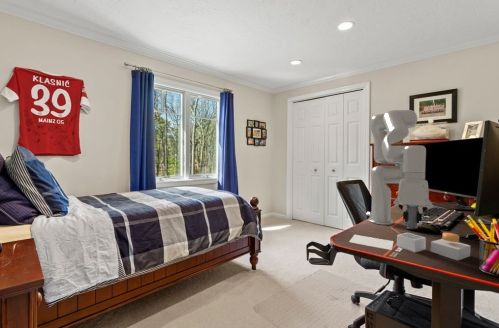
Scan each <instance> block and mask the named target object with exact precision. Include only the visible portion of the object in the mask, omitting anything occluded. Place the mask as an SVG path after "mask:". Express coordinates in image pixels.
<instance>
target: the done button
mask: <svg viewBox="0 0 499 328" xmlns="http://www.w3.org/2000/svg"><path fill="white" fill-rule="evenodd" d="M441 239H444V240H446V241H450V242H459V243H460V235H459V234H456V233H452V232H442V237H441Z"/></svg>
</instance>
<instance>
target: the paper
mask: <svg viewBox="0 0 499 328" xmlns="http://www.w3.org/2000/svg"><path fill="white" fill-rule="evenodd" d="M348 242H349V243H352V244H357V245H363V246H367V247H374V248H378V249H383V250H390V251H392V250H393V245H394V241H393V240H389V239H381V238H378V237H370V236H365V235H359V234H353V236H352V237H351V238H350V240H349V241H348Z"/></svg>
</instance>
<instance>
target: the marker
mask: <svg viewBox="0 0 499 328" xmlns="http://www.w3.org/2000/svg"><path fill="white" fill-rule="evenodd" d="M406 209H407V222H406V227H407V228H409V229H418V223H417V213H418V211H419V208H418V206H414V205H407V208H406Z"/></svg>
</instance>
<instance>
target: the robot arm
mask: <svg viewBox="0 0 499 328" xmlns="http://www.w3.org/2000/svg"><path fill="white" fill-rule="evenodd" d="M417 122H418V116H417V112H415V111H414V110H412V109H397V110H395V109H394V110H389V111H387V112H386V113H380V114H375V115H373V116H372V117H371V119H370V131H371V134H372V136H373V160H374V161H375V163H377V164H388V165H377V166H374V167H372V168H371V170H370V178H371V211H367V212H366V213H365V216H369V217H368V222H370V223H372V224H377V225H382V226H383V225H384V226H386V225H387V226H388V225H393V224H394V220H392V219H391V209H392V205H391V204H392V203H393V205H395V206H396V207H398V208H399V209H400V210H402V212H403V213H402V219H403V220H404V222H405V223H407V205H414V206H418V213H417V225H418V224H419V225H420V222H422V218H423V217H422V216H423V213H425V212H426V211H428V210H430V209H434V204H433V203H432V201H431V200H430V199H429V198H430V197H429V193H430V192H429V183H428V180H426V160H427V159H426V158H427V157H426V156H427V148H426V147H425V145H392V144H395V143H398V142H401V141H403V140H404V139H406V138H407V137H408V136H409V133H410V130H409V129H411V128H413V127H416V125H417ZM389 164H394V165H389ZM387 184H398V190H397V192H398V193H397V194H398V195H397V197H396V198H395V199H394V201H393V202H392V201H391V200H392V191H391V188H390V187H389V185H387Z"/></svg>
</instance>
